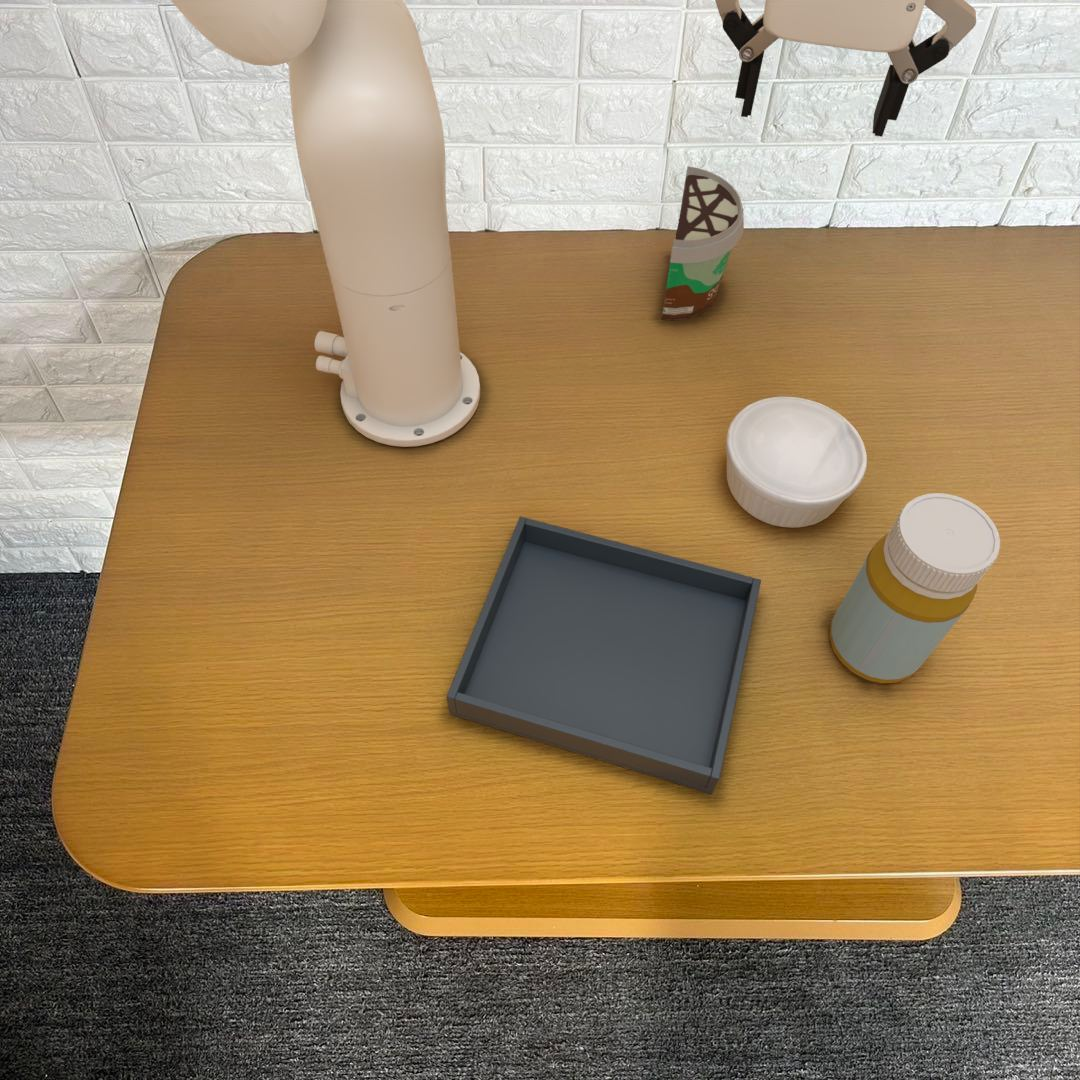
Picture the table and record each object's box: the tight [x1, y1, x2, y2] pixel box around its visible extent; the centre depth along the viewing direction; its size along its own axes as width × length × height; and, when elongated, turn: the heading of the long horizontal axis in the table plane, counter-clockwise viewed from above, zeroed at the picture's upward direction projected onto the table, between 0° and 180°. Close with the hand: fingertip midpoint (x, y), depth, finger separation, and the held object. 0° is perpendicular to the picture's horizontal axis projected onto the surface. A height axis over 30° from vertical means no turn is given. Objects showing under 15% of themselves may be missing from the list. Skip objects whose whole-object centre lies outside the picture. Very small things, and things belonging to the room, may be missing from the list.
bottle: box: [829, 492, 1001, 684], centre depth 62 cm, size 7×7×15 cm
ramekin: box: [725, 396, 868, 529], centre depth 74 cm, size 11×11×5 cm
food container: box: [661, 165, 745, 321], centre depth 86 cm, size 12×6×10 cm, turn 168°
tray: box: [446, 516, 762, 795], centre depth 66 cm, size 19×16×3 cm
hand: (811, 116), depth 67 cm, fingers open, 9 cm apart
